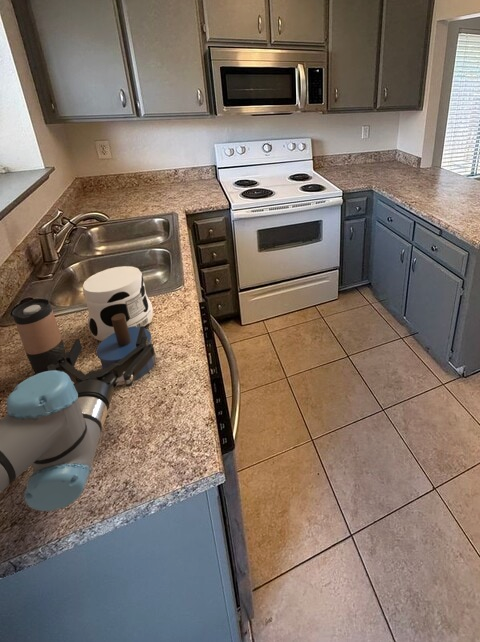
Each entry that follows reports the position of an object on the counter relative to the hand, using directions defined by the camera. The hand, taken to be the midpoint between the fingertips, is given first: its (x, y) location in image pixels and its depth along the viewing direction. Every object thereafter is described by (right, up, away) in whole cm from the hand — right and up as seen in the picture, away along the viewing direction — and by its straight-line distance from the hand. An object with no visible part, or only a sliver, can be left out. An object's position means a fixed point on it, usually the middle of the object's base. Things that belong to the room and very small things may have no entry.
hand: (111, 336), depth 85 cm
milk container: (-12, -7, +27) cm, 30 cm away
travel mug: (-22, -13, +11) cm, 28 cm away
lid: (-2, -5, +8) cm, 10 cm away
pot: (-1, -13, +11) cm, 17 cm away
